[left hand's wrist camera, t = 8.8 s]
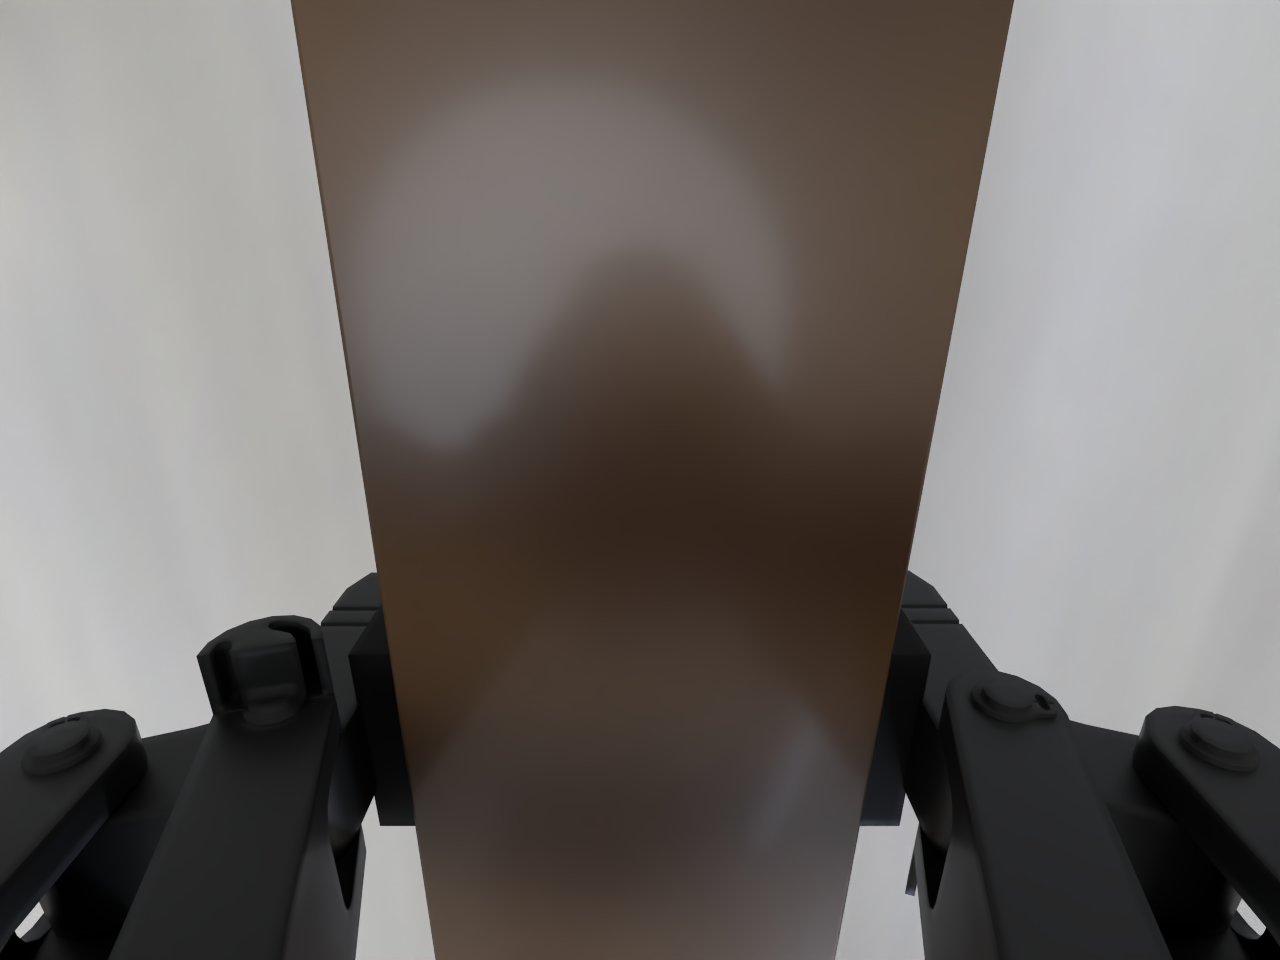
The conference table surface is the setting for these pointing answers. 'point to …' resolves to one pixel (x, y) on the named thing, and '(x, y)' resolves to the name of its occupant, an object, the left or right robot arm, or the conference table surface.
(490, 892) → the bar
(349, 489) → the conference table surface
